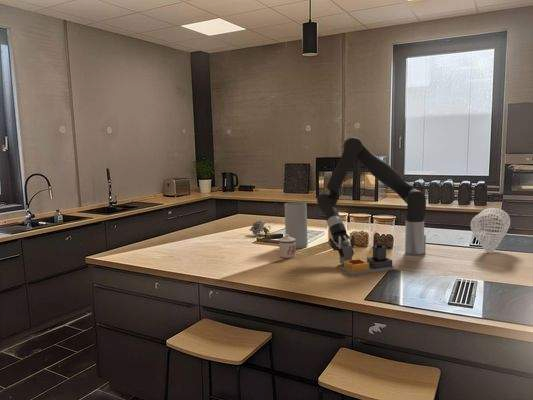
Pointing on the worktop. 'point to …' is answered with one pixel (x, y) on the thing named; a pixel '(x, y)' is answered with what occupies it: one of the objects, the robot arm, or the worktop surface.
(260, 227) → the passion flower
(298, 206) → the cylinder vase
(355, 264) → the multicoloured piece
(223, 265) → the worktop surface
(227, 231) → the worktop surface
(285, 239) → the teacup with lid
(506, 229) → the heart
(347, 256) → the plug
